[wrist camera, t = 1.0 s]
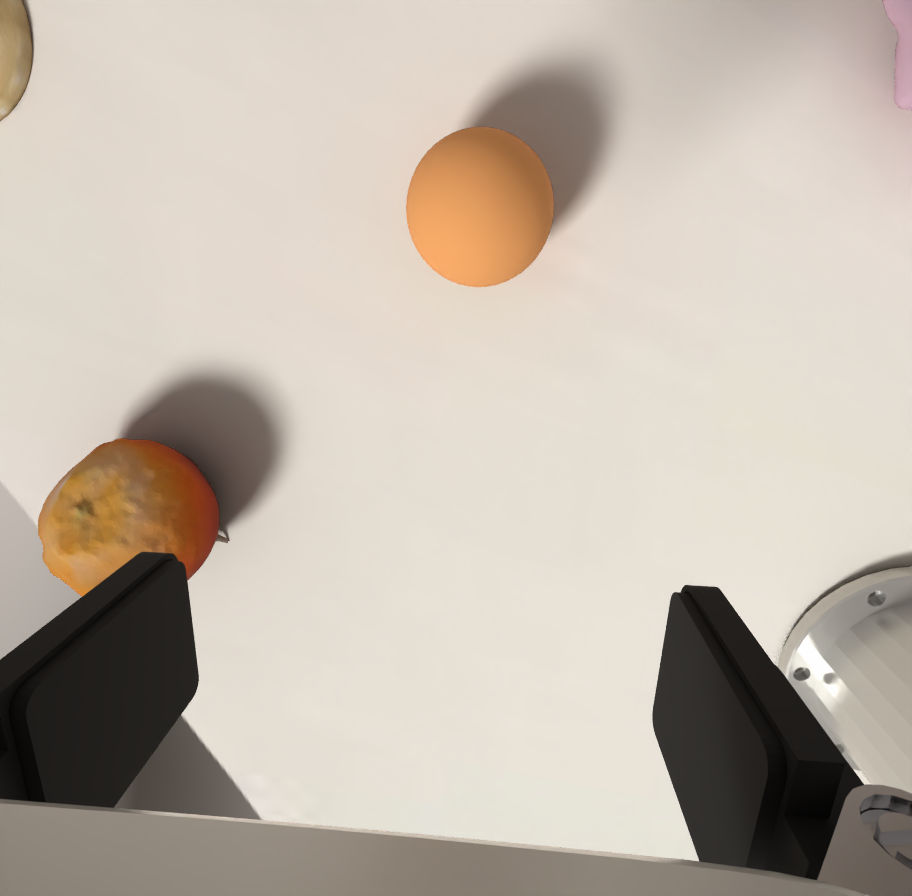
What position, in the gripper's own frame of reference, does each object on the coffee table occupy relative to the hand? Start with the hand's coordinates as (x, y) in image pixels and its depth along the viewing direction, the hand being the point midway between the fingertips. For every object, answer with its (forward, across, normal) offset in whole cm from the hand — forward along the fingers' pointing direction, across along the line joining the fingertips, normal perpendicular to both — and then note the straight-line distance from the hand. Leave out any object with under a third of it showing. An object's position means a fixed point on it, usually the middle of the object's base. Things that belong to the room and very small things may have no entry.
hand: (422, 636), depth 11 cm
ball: (+16, 0, -9) cm, 18 cm away
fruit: (+19, +16, +5) cm, 26 cm away
